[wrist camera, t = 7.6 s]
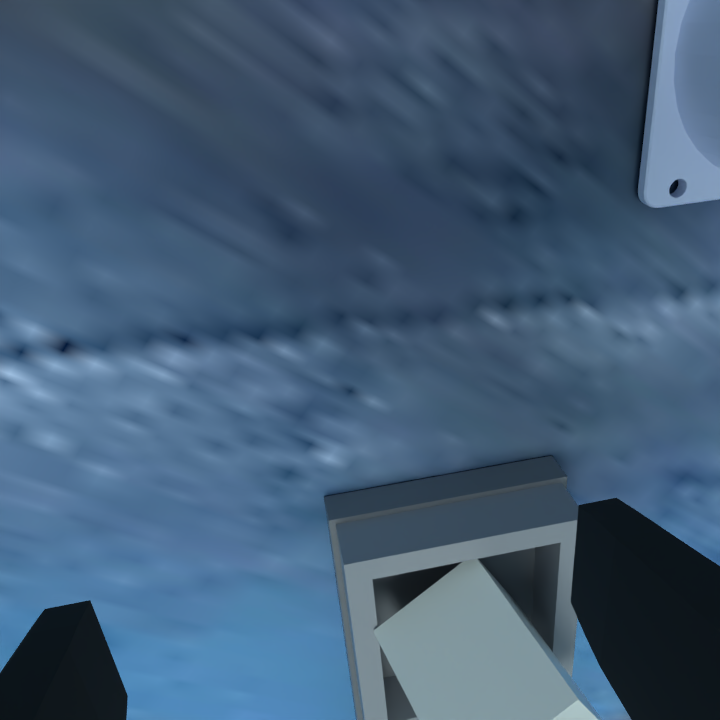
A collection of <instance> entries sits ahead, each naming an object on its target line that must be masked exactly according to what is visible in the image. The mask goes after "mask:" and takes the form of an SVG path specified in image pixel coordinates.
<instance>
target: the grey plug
mask: <svg viewBox="0 0 720 720" xmlns="http://www.w3.org/2000/svg"><path fill="white" fill-rule="evenodd" d="M373 632H374V634H375V636H376V638H377V640H378V642H379V644H380V646H381V647H382V649H383V651H384V653H385V655H386V657H387V659H388V661H389V663H390V665H391V667H392V669H393V671H394V673H395V675H396V677H397V679H398V681H399V683H400V684H401V686H402V688H403V690H404V692H405V694H406V696H407V698H408V700H409V702H410V704H411V706H412V708H413V710H414V712H415V714H416V716H417V718H418V719H419V720H602V719H601V718H600V716H599V715H598V713H597V712H596V711H595V709H594V708H593V707H592V705H591V704H590V702H589V701H588V700H587V698H586V697H585V696H584V694H583V693H582V692H581V690H580V689H579V687H578V686H577V685H576V683H575V682H574V681H573V679H572V678H571V676H570V675H569V674H568V672H567V671H566V670H565V668H564V667H563V665H562V664H561V663H560V661H559V660H558V659H557V657H556V656H555V655H554V653H553V652H552V650H551V649H550V648H549V646H548V645H547V644H546V642H545V641H544V639H543V638H542V637H541V635H540V634H539V633H538V631H537V630H536V628H535V627H534V626H533V624H532V623H531V622H530V620H529V619H528V618H527V616H526V615H525V613H524V612H523V611H522V609H521V608H520V607H519V605H518V604H517V603H516V602H515V600H514V599H513V598H512V597H511V596H510V595H509V594H508V592H507V591H506V590H505V589H504V588H503V587H502V586H501V584H500V583H499V582H498V581H497V580H496V579H495V578H494V576H493V575H492V574H491V573H490V572H489V571H488V570H487V568H486V567H485V566H484V565H483V564H482V563H481V562H480V560H479V559H474V560H469V561H464V562H462V563H461V564H459V565H458V566H457V567H455V568H454V569H453V570H451V571H450V572H449V573H448V574H446V575H445V576H444V577H442V578H441V579H440V580H438V581H437V582H436V583H435V584H433V585H432V586H431V587H429V588H428V589H427V590H426V591H424V592H423V593H422V594H420V595H419V596H418V597H416V598H415V599H414V600H413V601H411V602H410V603H409V604H407V605H406V606H405V607H404V608H402V609H401V610H400V611H398V612H397V613H396V614H394V615H393V616H392V617H391V618H389V619H388V620H387V621H385V622H384V623H383V624H381V625H380V626H379V627H378V628H376V629H375V630H374V631H373Z"/></svg>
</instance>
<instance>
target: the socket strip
mask: <svg viewBox="0 0 720 720" xmlns="http://www.w3.org/2000/svg"><path fill="white" fill-rule="evenodd" d="M566 486H567V476H566V474H565V473H564V471H563V470H562V469H561V467H560V466H559V465H558V463H557V462H556V461H555V459H554V458H553V457H552V456H547V457H542V458H536V459H530V460H525V461H519V462H514V463H508V464H503V465H497V466H492V467H486V468H481V469H475V470H470V471H464V472H459V473H453V474H448V475H442V476H437V477H431V478H425V479H420V480H414V481H409V482H403V483H398V484H392V485H387V486H381V487H376V488H370V489H365V490H359V491H354V492H348V493H343V494H337V495H332V496H326V497H324V500H325V507H326V514H327V521H328V528H329V535H330V542H331V548H332V555H333V562H334V569H335V576H336V583H337V590H338V597H339V604H340V610H341V617H342V624H343V631H344V638H345V645H346V652H347V659H348V666H349V673H350V679H351V686H352V693H353V700H354V707H355V714H356V720H419V719H418V718H417V716H416V714H415V712H414V710H413V708H412V706H411V704H410V702H409V700H408V698H407V696H406V694H405V692H404V690H403V688H402V686H401V684H400V683H399V681H398V679H397V677H396V675H395V673H394V671H393V669H392V667H391V665H390V663H389V661H388V659H387V657H386V655H385V653H384V651H383V649H382V647H381V646H380V644H379V642H378V640H377V638H376V636H375V634H374V632H373V631H374V630H375V629H376V628H378V627H379V626H380V625H381V624H383V623H384V622H385V621H387V620H388V619H389V618H391V617H392V616H393V615H394V614H396V613H397V612H398V611H400V610H401V609H402V608H404V607H405V606H406V605H407V604H409V603H410V602H411V601H413V600H414V599H415V598H416V597H418V596H419V595H420V594H422V593H423V592H424V591H426V590H427V589H428V588H429V587H431V586H432V585H433V584H435V583H436V582H437V581H438V580H440V579H441V578H442V577H444V576H445V575H446V574H448V573H449V572H450V571H451V570H453V569H454V568H455V567H457V566H458V565H459V564H461V563H462V562H464V561H469V560H474V559H479V560H480V562H481V563H482V564H483V565H484V566H485V567H486V568H487V570H488V571H489V572H490V573H491V574H492V575H493V576H494V578H495V579H496V580H497V581H498V582H499V583H500V584H501V586H502V587H503V588H504V589H505V590H506V591H507V592H508V594H509V595H510V596H511V597H512V598H513V599H514V600H515V602H516V603H517V604H518V605H519V607H520V608H521V609H522V611H523V612H524V613H525V615H526V616H527V618H528V619H529V620H530V622H531V623H532V624H533V626H534V627H535V628H536V630H537V631H538V633H539V634H540V635H541V637H542V638H543V639H544V641H545V642H546V644H547V645H548V646H549V648H550V649H551V650H552V652H553V653H554V655H555V656H556V657H557V659H558V660H559V661H560V663H561V664H562V665H563V667H564V668H565V670H566V671H567V672H568V674H569V675H570V676H571V678H572V669H573V658H574V648H575V637H576V626H577V615H576V613H575V611H574V609H573V606H572V604H571V602H570V601H571V590H572V578H573V566H574V554H575V542H576V531H577V519H578V505H577V504H576V502H575V501H574V500H573V498H572V497H571V495H570V494H569V493H568V491H567V490H566Z"/></svg>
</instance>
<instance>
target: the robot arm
mask: <svg viewBox="0 0 720 720" xmlns="http://www.w3.org/2000/svg"><path fill="white" fill-rule="evenodd" d="M677 179H678V187H677V189H676V190H675V191H674V192H673V193H672V194H670V193H669V189H670V186H671V184H672V183H673V182H674V181H675V180H677ZM638 197H639V199H640V200H641V202H642V203H644V204H646V205H648V206H650V207H653V208H661V207H668V206H675V205H682V204H690V203H697V202H704V201H711V200H718V199H720V0H659V1H658V10H657V20H656V29H655V38H654V47H653V56H652V65H651V75H650V84H649V93H648V102H647V111H646V120H645V130H644V139H643V148H642V157H641V166H640V176H639V185H638ZM570 602H571V604H572V606H573V609H574V611H575V613H576V615H577V618H578V620H579V622H580V624H581V627H582V629H583V631H584V633H585V636H586V638H587V640H588V642H589V644H590V646H591V648H592V651H593V653H594V655H595V657H596V659H597V661H598V663H599V665H600V667H601V669H602V671H603V672H604V674H605V676H606V677H607V679H608V681H609V683H610V684H611V686H612V688H613V689H614V691H615V693H616V694H617V696H618V698H619V699H620V701H621V703H622V704H623V706H624V708H625V709H626V711H627V713H628V714H629V716H630V718H631V719H632V720H720V566H719V565H717V564H716V563H714V562H712V561H711V560H709V559H708V558H706V557H705V556H703V555H702V554H700V553H699V552H697V551H696V550H694V549H693V548H691V547H690V546H688V545H687V544H685V543H684V542H682V541H681V540H679V539H678V538H676V537H675V536H673V535H672V534H670V533H669V532H667V531H666V530H664V529H663V528H661V527H660V526H658V525H657V524H656V523H654V522H653V521H651V520H650V519H648V518H647V517H645V516H644V515H642V514H641V513H639V512H638V511H636V510H635V509H633V508H631V507H630V506H628V505H627V504H625V503H624V502H622V501H621V500H619V499H617V498H613V499H608V500H603V501H598V502H593V503H588V504H582V505H579V507H578V519H577V531H576V542H575V554H574V566H573V578H572V590H571V601H570ZM126 715H127V693H126V691H125V688H124V685H123V683H122V680H121V678H120V675H119V673H118V670H117V668H116V665H115V662H114V660H113V657H112V655H111V652H110V650H109V647H108V645H107V642H106V640H105V637H104V634H103V632H102V629H101V627H100V624H99V622H98V619H97V617H96V614H95V611H94V609H93V606H92V604H91V601H90V600H89V601H84V602H79V603H74V604H69V605H64V606H59V607H53V608H48V609H45V610H44V611H43V612H42V614H41V615H40V616H39V618H38V619H37V620H36V622H35V623H34V625H33V626H32V627H31V629H30V630H29V632H28V633H27V635H26V636H25V638H24V639H23V640H22V642H21V643H20V645H19V646H18V648H17V649H16V651H15V652H14V654H13V655H12V657H11V658H10V659H9V661H8V662H7V664H6V665H5V667H4V668H3V670H2V671H1V673H0V720H126Z"/></svg>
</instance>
